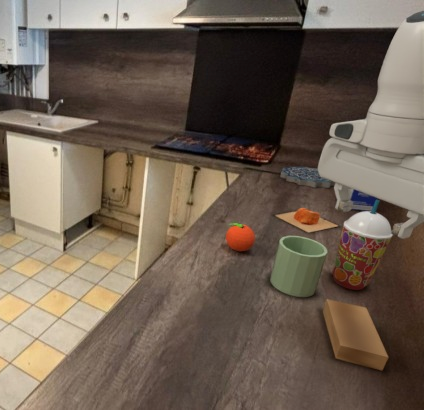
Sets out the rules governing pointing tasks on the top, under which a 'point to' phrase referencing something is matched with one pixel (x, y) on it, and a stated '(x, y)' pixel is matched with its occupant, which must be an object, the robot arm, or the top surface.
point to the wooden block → (354, 335)
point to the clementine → (240, 237)
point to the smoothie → (361, 248)
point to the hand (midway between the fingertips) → (369, 222)
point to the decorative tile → (305, 177)
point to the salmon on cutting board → (306, 220)
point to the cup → (298, 265)
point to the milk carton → (361, 200)
